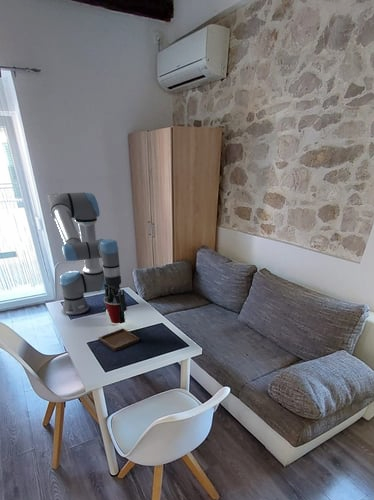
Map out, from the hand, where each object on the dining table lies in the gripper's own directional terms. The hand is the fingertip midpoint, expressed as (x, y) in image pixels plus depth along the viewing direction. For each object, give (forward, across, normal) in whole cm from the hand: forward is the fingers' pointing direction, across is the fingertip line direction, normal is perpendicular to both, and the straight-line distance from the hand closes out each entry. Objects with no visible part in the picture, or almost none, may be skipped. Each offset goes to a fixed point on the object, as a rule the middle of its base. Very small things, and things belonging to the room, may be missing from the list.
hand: (117, 319), depth 157 cm
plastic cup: (+1, 0, 0) cm, 1 cm away
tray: (+12, 0, 0) cm, 12 cm away
